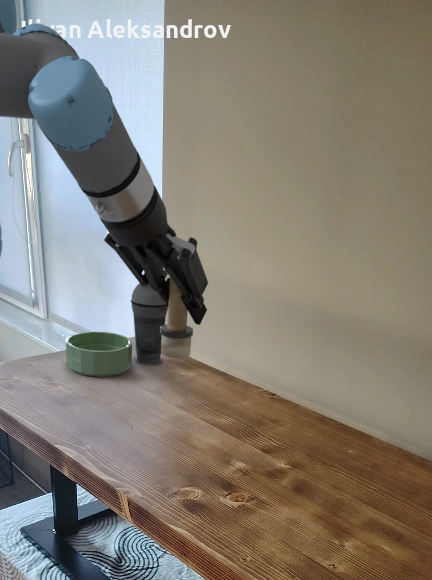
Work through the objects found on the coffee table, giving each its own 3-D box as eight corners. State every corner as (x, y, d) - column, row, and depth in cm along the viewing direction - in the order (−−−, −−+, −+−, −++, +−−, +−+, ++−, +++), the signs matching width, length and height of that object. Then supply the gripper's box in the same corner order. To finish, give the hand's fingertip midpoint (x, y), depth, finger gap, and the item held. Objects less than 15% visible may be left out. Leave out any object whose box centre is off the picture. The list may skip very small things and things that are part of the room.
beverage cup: (144, 352, 128) (147, 249, 118) (174, 360, 125) (178, 256, 115) (122, 360, 123) (122, 254, 113) (152, 369, 120) (155, 260, 110)
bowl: (56, 372, 114) (55, 346, 112) (81, 353, 124) (80, 328, 122) (119, 381, 113) (119, 355, 110) (139, 361, 123) (139, 336, 121)
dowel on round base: (155, 356, 92) (159, 249, 84) (164, 346, 96) (168, 243, 88) (187, 360, 91) (194, 253, 84) (194, 350, 95) (201, 247, 88)
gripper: (59, 216, 75) (137, 324, 96) (169, 236, 69) (227, 347, 90) (87, 166, 77) (158, 284, 98) (197, 182, 71) (248, 304, 92)
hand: (191, 314), depth 94 cm, fingers closed on dowel on round base, 3 cm apart
